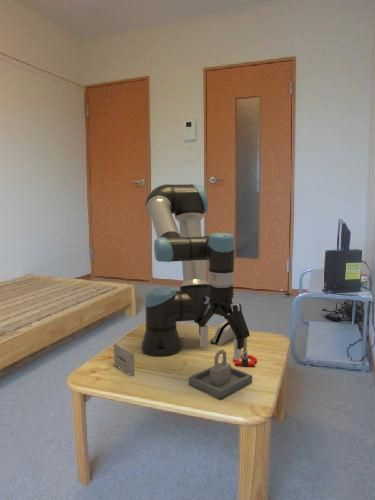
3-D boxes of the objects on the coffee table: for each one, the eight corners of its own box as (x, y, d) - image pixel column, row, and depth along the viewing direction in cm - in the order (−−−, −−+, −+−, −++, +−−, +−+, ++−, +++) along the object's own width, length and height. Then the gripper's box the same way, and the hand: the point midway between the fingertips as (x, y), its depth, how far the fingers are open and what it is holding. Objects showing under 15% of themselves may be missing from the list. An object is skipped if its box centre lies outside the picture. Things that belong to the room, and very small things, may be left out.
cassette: (113, 364, 138) (112, 343, 137) (117, 363, 139) (117, 342, 138) (131, 376, 129) (130, 354, 128) (135, 375, 130) (135, 352, 129)
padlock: (222, 375, 127) (222, 345, 126) (232, 379, 125) (232, 348, 123) (208, 383, 122) (208, 352, 121) (218, 387, 119) (218, 355, 118)
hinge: (229, 331, 171) (236, 311, 168) (238, 337, 169) (246, 317, 166) (208, 343, 158) (216, 321, 155) (218, 349, 155) (226, 327, 152)
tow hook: (233, 356, 145) (232, 366, 136) (234, 322, 144) (233, 329, 135) (256, 358, 144) (257, 367, 135) (257, 323, 143) (258, 330, 134)
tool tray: (188, 384, 123) (188, 377, 122) (220, 370, 133) (220, 363, 133) (220, 399, 114) (220, 391, 113) (252, 382, 124) (252, 375, 124)
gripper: (183, 280, 125) (183, 343, 129) (246, 294, 108) (245, 368, 111) (199, 276, 131) (199, 337, 134) (262, 289, 113) (260, 360, 116)
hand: (220, 351), depth 122 cm, fingers open, 13 cm apart
